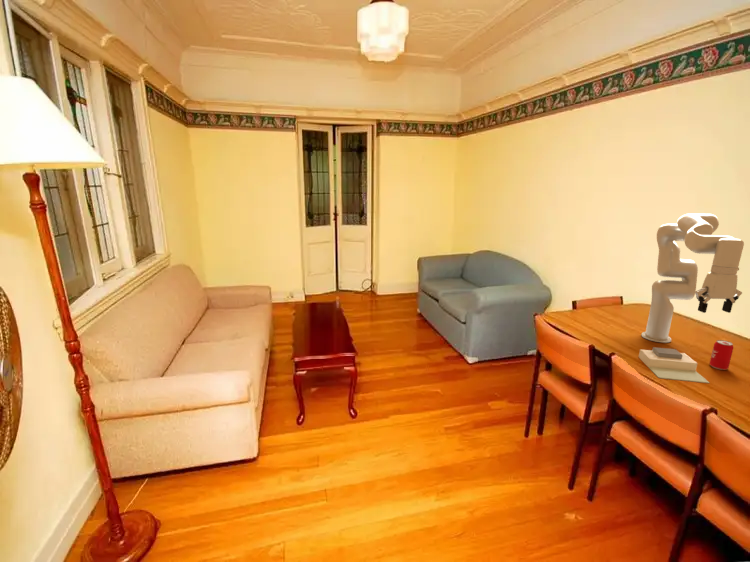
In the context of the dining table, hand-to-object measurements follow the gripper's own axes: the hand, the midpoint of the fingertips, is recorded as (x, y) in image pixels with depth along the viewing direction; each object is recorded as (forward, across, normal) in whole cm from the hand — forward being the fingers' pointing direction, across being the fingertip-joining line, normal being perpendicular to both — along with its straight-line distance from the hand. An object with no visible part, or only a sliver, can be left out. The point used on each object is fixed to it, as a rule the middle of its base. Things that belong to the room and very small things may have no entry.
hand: (713, 311), depth 149 cm
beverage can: (+29, -16, -8) cm, 34 cm away
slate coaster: (+25, +5, -12) cm, 28 cm away
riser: (+29, +5, -11) cm, 32 cm away
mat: (+29, +8, -1) cm, 30 cm away
